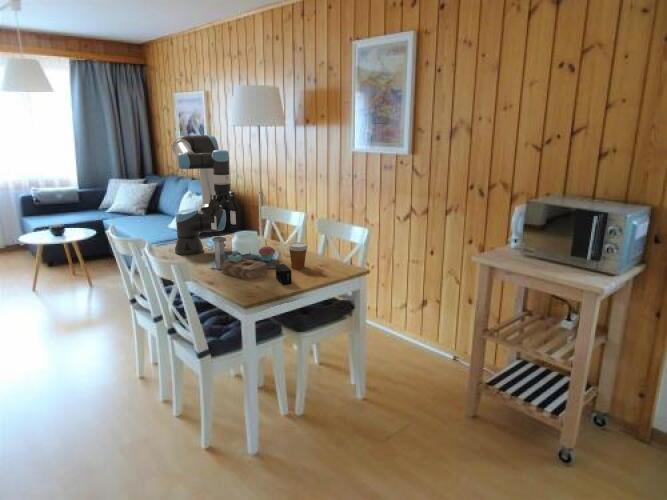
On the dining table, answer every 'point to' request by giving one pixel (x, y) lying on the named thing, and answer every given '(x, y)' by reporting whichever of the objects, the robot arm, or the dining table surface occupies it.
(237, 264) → the hitch block
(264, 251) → the cupcake
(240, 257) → the keeper
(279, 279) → the digital camera
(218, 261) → the grey stone pillar
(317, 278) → the dining table surface
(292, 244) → the disposable coffee cup
